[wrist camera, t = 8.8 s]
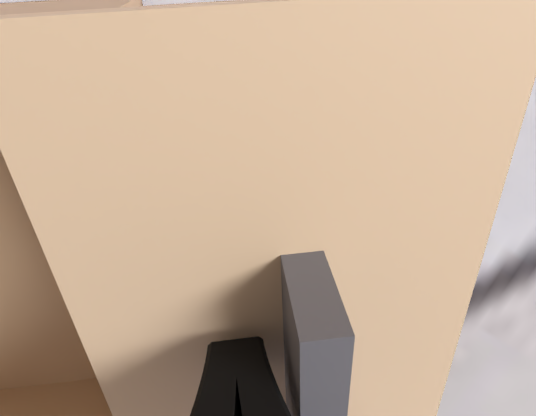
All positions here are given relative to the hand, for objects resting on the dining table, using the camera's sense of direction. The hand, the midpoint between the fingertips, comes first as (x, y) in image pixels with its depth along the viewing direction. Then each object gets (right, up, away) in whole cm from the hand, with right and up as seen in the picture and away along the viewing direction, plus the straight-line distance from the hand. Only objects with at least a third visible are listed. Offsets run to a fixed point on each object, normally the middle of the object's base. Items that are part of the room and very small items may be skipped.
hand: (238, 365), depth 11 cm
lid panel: (+1, +1, +1) cm, 2 cm away
